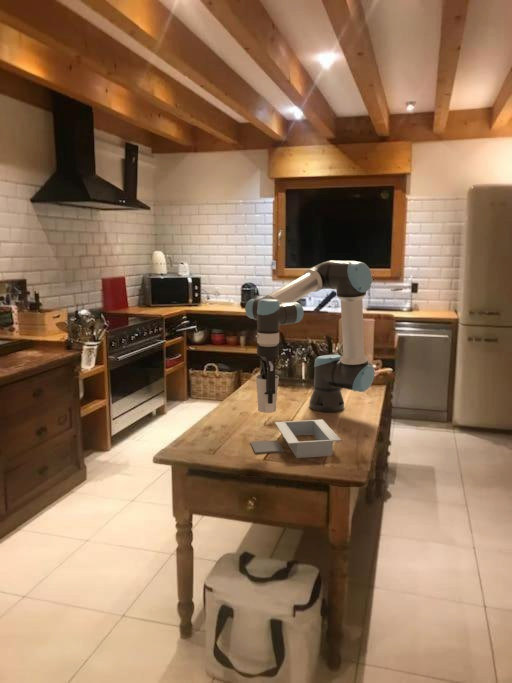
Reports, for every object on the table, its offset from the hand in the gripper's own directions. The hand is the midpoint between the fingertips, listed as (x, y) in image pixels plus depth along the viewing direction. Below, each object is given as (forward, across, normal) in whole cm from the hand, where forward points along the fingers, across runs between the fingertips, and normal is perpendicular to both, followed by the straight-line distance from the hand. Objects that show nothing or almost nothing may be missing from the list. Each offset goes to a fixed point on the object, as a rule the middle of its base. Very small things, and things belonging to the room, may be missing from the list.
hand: (267, 408), depth 195 cm
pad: (+15, 0, 0) cm, 15 cm away
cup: (+1, 0, 0) cm, 1 cm away
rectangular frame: (+15, 0, +15) cm, 21 cm away
